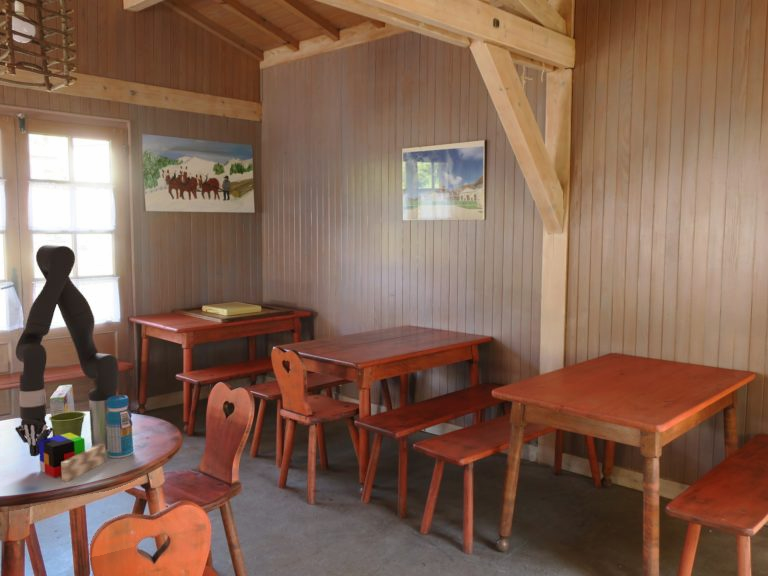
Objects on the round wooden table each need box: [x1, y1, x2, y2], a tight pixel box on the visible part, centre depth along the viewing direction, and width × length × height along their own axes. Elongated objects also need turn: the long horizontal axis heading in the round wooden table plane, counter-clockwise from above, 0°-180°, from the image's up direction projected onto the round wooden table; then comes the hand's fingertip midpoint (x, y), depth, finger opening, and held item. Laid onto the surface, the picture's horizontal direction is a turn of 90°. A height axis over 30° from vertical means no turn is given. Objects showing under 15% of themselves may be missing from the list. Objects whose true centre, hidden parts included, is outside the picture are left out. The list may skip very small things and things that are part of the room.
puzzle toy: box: [39, 433, 86, 479], centre depth 211 cm, size 10×10×10 cm
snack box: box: [49, 384, 76, 437], centre depth 257 cm, size 21×6×15 cm, turn 17°
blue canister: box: [106, 395, 134, 459], centre depth 225 cm, size 8×8×20 cm
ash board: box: [61, 444, 107, 483], centre depth 210 cm, size 18×2×6 cm, turn 166°
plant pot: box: [48, 411, 86, 437], centre depth 235 cm, size 12×12×11 cm
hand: (34, 455), depth 214 cm, fingers closed
